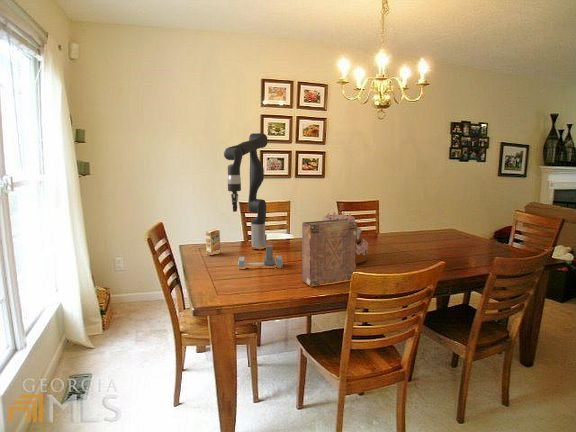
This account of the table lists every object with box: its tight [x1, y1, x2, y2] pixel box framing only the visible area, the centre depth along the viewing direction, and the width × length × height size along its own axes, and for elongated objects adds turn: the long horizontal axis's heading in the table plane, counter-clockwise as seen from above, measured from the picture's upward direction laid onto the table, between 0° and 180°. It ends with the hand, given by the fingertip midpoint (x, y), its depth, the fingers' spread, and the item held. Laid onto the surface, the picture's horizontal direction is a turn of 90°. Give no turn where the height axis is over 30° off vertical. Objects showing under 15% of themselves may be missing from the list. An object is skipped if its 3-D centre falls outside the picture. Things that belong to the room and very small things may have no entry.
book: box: [301, 219, 358, 286], centre depth 181 cm, size 25×9×30 cm, turn 114°
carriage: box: [263, 244, 276, 266], centre depth 206 cm, size 6×6×11 cm
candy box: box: [205, 228, 221, 252], centre depth 231 cm, size 9×4×15 cm, turn 150°
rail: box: [237, 255, 284, 268], centre depth 206 cm, size 25×8×5 cm, turn 96°
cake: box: [322, 211, 369, 266], centre depth 221 cm, size 35×35×28 cm
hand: (235, 210), depth 216 cm, fingers open, 8 cm apart
